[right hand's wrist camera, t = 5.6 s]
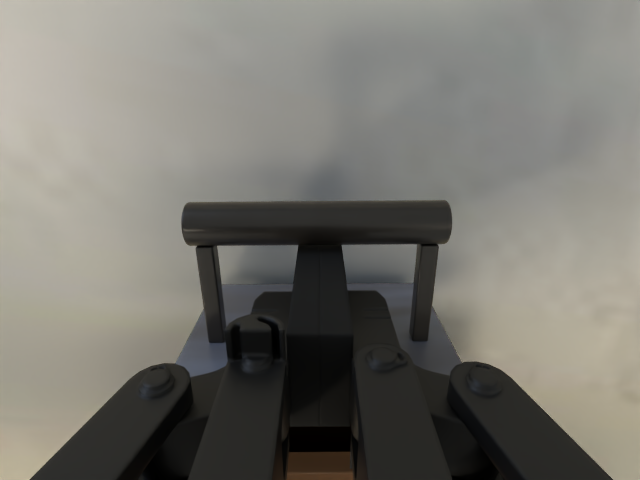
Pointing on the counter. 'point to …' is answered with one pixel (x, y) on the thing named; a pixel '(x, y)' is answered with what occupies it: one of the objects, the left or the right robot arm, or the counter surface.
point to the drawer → (292, 229)
